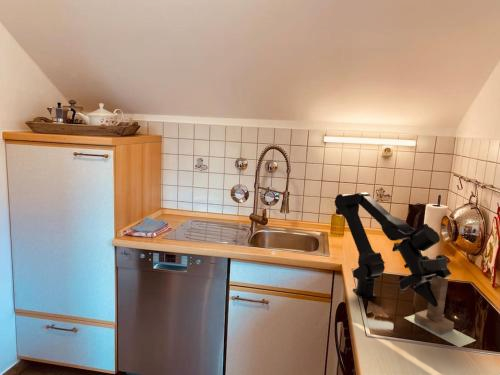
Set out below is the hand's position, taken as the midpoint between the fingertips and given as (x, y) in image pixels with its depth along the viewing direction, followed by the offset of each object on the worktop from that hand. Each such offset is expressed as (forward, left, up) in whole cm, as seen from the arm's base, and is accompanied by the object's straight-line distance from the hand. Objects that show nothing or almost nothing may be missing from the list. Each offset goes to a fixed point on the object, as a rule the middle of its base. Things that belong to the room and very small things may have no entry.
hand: (440, 305), depth 115 cm
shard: (-13, -14, -9) cm, 21 cm away
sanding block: (-1, 0, -7) cm, 7 cm away
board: (0, 0, -8) cm, 9 cm away
